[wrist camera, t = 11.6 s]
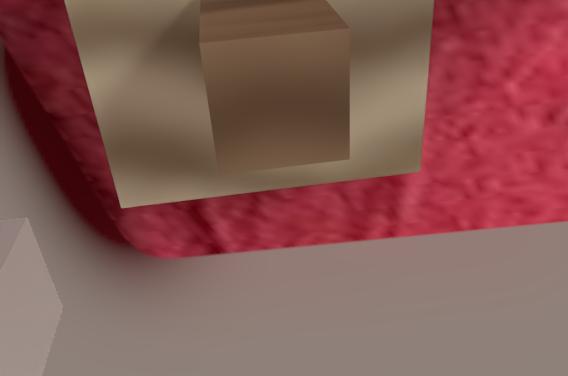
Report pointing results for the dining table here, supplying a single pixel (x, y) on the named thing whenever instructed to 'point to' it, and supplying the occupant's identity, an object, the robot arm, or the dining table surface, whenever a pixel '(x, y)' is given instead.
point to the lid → (253, 92)
